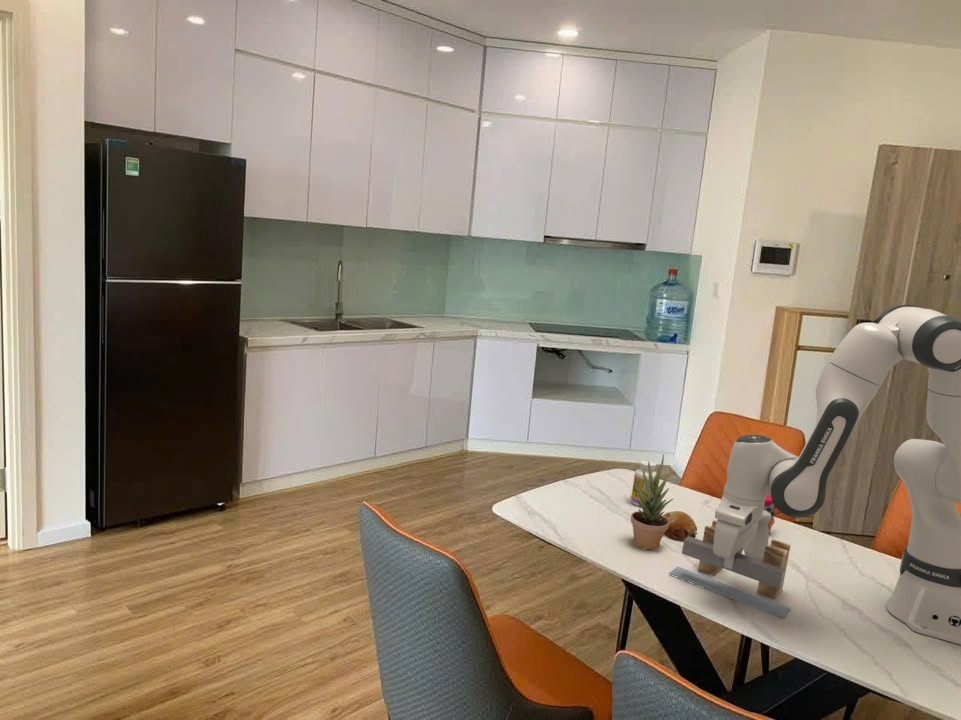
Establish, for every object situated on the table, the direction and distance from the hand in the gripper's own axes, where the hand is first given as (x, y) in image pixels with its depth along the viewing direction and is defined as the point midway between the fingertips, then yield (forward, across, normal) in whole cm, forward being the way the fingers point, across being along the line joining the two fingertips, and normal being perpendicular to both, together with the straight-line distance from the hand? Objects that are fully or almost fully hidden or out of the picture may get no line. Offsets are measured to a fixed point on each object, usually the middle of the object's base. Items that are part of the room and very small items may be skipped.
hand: (731, 564), depth 162 cm
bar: (+1, 0, 0) cm, 1 cm away
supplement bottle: (+7, -37, -38) cm, 53 cm away
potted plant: (+7, -10, -24) cm, 27 cm away
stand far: (+7, -9, -7) cm, 13 cm away
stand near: (+7, -9, +7) cm, 13 cm away
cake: (+7, -45, -8) cm, 46 cm away
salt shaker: (+7, -24, -1) cm, 25 cm away
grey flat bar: (+7, 0, 0) cm, 7 cm away
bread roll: (+7, -24, -21) cm, 33 cm away
